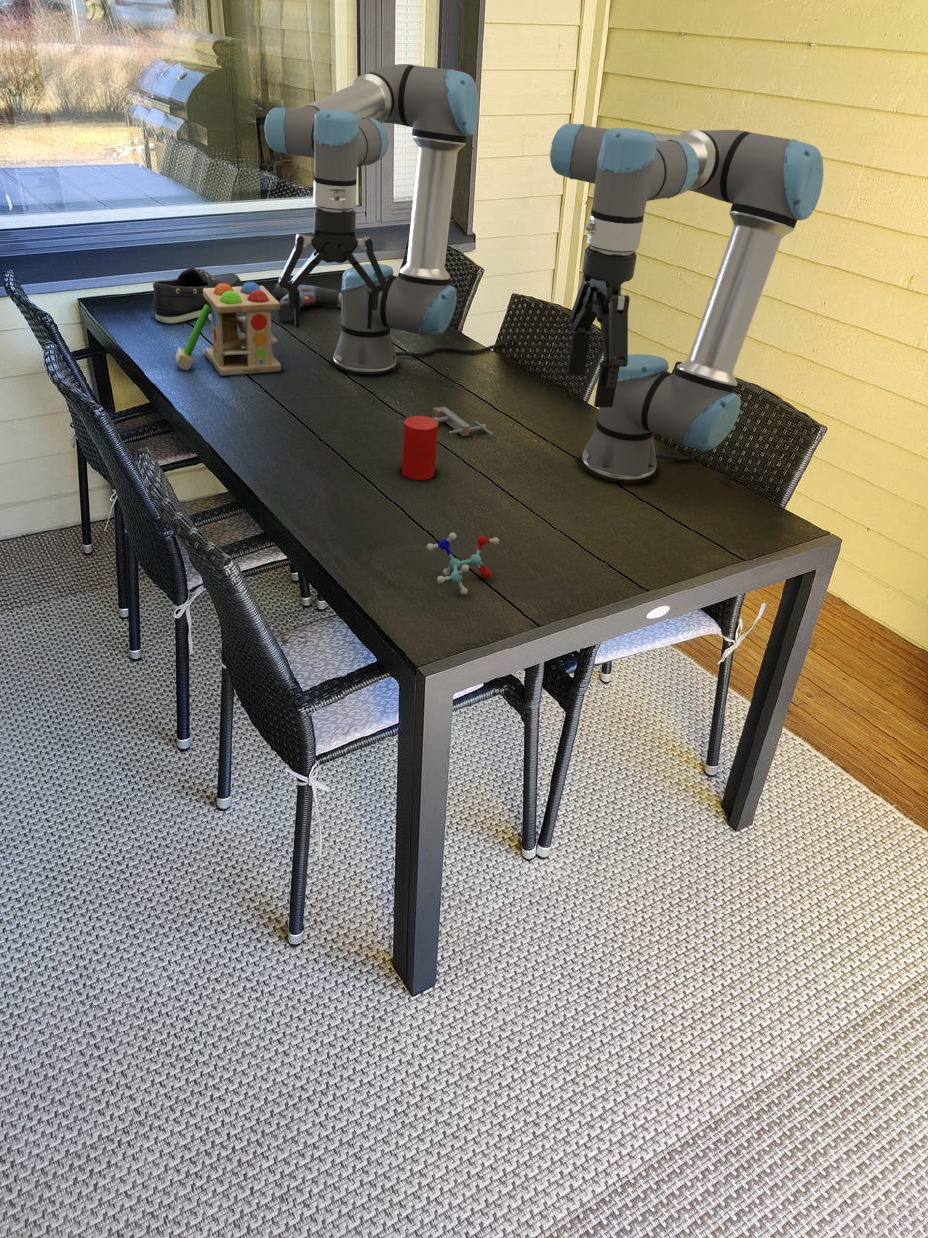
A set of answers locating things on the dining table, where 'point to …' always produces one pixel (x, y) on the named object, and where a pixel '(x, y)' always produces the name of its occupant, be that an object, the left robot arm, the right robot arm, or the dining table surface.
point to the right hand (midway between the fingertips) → (588, 389)
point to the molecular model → (455, 563)
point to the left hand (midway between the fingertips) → (333, 326)
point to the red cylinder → (419, 447)
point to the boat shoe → (186, 294)
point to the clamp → (456, 422)
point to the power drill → (305, 299)
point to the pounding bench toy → (229, 347)
